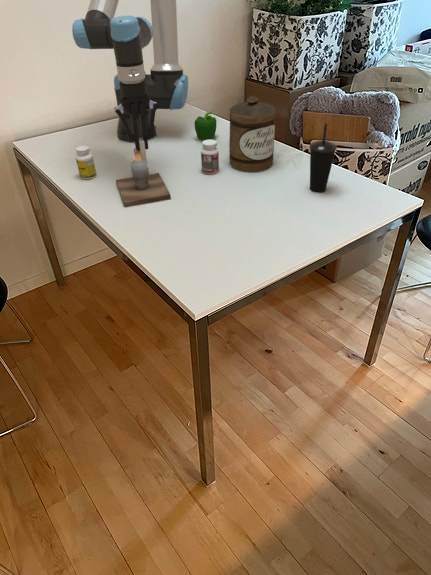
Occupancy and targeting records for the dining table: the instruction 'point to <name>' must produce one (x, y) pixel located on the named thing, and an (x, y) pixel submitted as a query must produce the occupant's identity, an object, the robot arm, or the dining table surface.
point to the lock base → (142, 190)
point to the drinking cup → (321, 163)
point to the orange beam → (139, 166)
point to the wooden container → (251, 135)
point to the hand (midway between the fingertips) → (143, 159)
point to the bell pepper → (205, 127)
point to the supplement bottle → (85, 163)
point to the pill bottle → (210, 157)
